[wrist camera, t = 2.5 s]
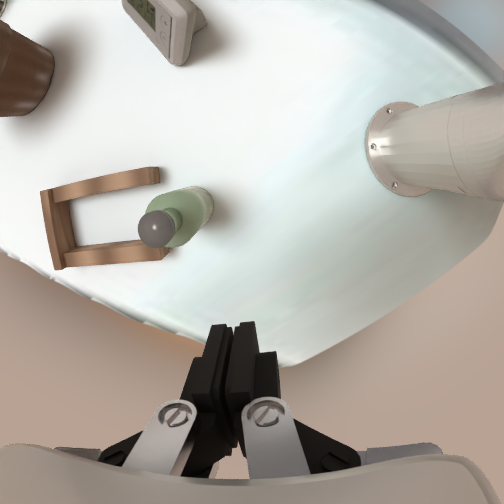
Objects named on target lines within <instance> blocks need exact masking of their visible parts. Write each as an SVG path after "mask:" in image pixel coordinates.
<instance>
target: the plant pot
mask: <svg viewBox="0 0 504 504" xmlns="http://www.w3.org/2000/svg"><path fill="white" fill-rule="evenodd" d="M53 72H54V59H53V56H52V54H51V52H50V51H49V50H48V49H46V48H44V47H43V46H41V45H39V44H37V43H36V42H34V41H32V40H30V39H29V38H27V37H25V36H23V35H21V34H20V33H18V32H16V31H15V30H13V29H11V28H10V26H9V25H8V24H7V23H5V22H3V21H1V20H0V117H10V116H22V115H26V114H28V113H29V112H31V111H32V110H33V109H34V108H35V107H36V106H37V105H38V104H39V103H40V101H41V100H42V98H43V97H44V95H45V94H46V92H47V90H48V88H49V85H50V77H51V75H52V73H53Z"/></svg>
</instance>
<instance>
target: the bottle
mask: <svg viewBox="0 0 504 504" xmlns="http://www.w3.org/2000/svg"><path fill="white" fill-rule="evenodd" d="M213 208H214V206H213V200H212V198H211V196H210V194H209V193H208V192H207V191H206V190H204V189H203V188H200V187H197V186H191V187H186V188H183V189H179V190H175V191H172V192H168V193H165V194H162V195H159V196H157V197H156V198H154V199H153V200H152V201H151V203H150V204H149V205H148V207H147V210H146V213H145V215H144V216H143V217H142V218H141V219H140V221H139V224H138V233H139V236H140V238H141V240H142V241H143V243H144V244H146V245H147V246H149V247H151V248H162V247H164V246H165V247H179V246H182V245H184V244H185V243H187V242H188V241H189V240H190V239H191V238H192V237H193V236H194V235H195V234H196V233H197V231H198V230H199V229H200V228H201V227H202V226H203V225H204V224H205V223H206V222H207V221H208V220H209V219H210V217H211V215H212V213H213Z"/></svg>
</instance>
